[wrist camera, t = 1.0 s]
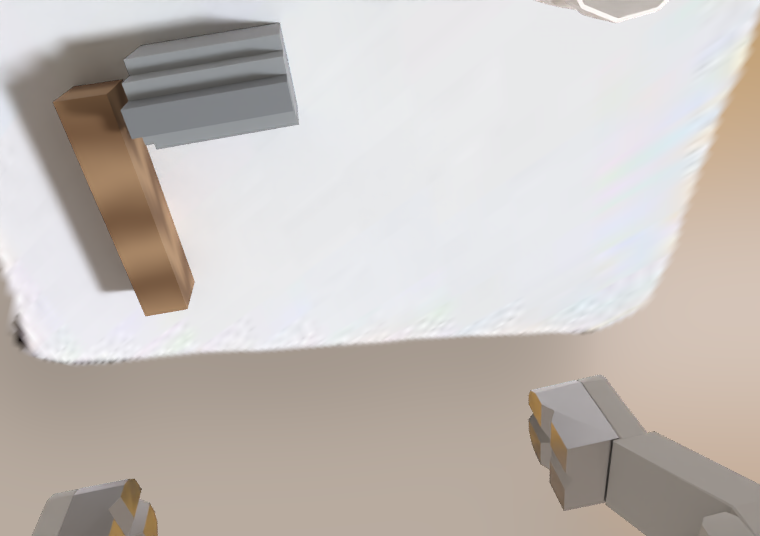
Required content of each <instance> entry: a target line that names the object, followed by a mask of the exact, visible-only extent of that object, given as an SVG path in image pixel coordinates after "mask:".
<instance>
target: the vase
mask: <svg viewBox="0 0 760 536" xmlns="http://www.w3.org/2000/svg"><path fill="white" fill-rule="evenodd" d="M535 1H538V2H541V3H545V4H549V5H553V6H557V7H562V8H567V9H573V10H577V11H578V12H579V13H581V14H582V15H585V16H589V17H592V18H596V19H600V20H605V21H609V22H613V23H619V22H622V21H626V20H629V19H633V18H636V17H640V16H643V15H646V14H650V13H653V12H657V11H659V10H660V9H661V8H662V7H663V6H664V5H665V4H666V3H667V2H668V1H669V0H535Z"/></svg>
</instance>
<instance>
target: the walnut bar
mask: <svg viewBox="0 0 760 536" xmlns="http://www.w3.org/2000/svg"><path fill="white" fill-rule="evenodd" d="M122 83H123V80H116V81H109V82H102V83H95V84H88V85H81V86H74V87H72V88H71V89H70V90H68V91H67V92H66V93H64V94H63V95H62V96H60V97H59V98H58V99H56V100H55V101H54V102H53V104H54V106H55V109H56V111H57V113H58V115H59V118H60V120H61V122H62V125H63V127H64V129H65V132H66V134H67V136H68V139H69V141H70V143H71V145H72V148H73V150H74V152H75V155H76V157H77V159H78V162H79V164H80V166H81V169H82V171H83V173H84V175H85V178H86V180H87V182H88V185H89V187H90V189H91V192H92V194H93V196H94V199H95V201H96V203H97V205H98V208H99V210H100V212H101V215H102V217H103V219H104V222H105V224H106V226H107V229H108V231H109V233H110V235H111V238H112V240H113V242H114V245H115V247H116V249H117V252H118V254H119V256H120V259H121V261H122V263H123V265H124V268H125V270H126V272H127V275H128V277H129V279H130V282H131V284H132V286H133V289H134V291H135V293H136V295H137V298H138V300H139V302H140V305H141V307H142V309H143V312H144V314H145V316H150V315H156V314H162V313H168V312H173V311H179V310H185V309H188V305H189V301H190V297H191V293H192V290H193V286H194V282H195V281H194V279H193V276H192V273H191V270H190V267H189V265H188V262H187V259H186V256H185V253H184V250H183V248H182V245H181V242H180V239H179V236H178V234H177V231H176V228H175V225H174V222H173V220H172V217H171V214H170V211H169V208H168V206H167V203H166V200H165V197H164V194H163V192H162V189H161V186H160V183H159V180H158V178H157V175H156V172H155V169H154V166H153V163H152V161H151V158H150V155H149V152H148V149H147V147H146V145H145V143H144V141H143V138H136V139H132V138H131V136H130V133H129V131H128V128H127V126H126V123H125V121H124V118H123V115H122V113H121V109H122V108H123V107H124V106H125V104H126V103H127V102H128V99H127V96H126V93H125V91H124V88H123V86H122Z"/></svg>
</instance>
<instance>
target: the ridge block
mask: <svg viewBox="0 0 760 536" xmlns="http://www.w3.org/2000/svg"><path fill="white" fill-rule="evenodd" d="M124 63H125V65H126V68H127V71H128V74H129V77H128V78H127V79H126V80H125V81H124V82H123V83H122V86H123V88H124V91H125V93H126V96H127V99H128V102H127V103H126V104H125V106H124V107H123V108H122V109H121V113H122V115H123V118H124V121H125V123H126V126H127V128H128V131H129V133H130V136H131V138H132V139H136V138H143V141H144V143H145V145H150V144H155V147H156V149H162V148H168V147H174V146H179V145H185V144H191V143H196V142H202V141H208V140H213V139H219V138H225V137H230V136H236V135H242V134H248V133H253V132H259V131H265V130H270V129H276V128H282V127H287V126H293V125H299V119H298V107H297V101H296V97H295V92H294V87H293V82H292V78H291V73H290V68H289V64H288V59H287V54H286V49H285V45H284V40H283V35H282V31H281V26H280V23H275V24H269V25H263V26H257V27H251V28H245V29H239V30H232V31H226V32H220V33H214V34H208V35H202V36H196V37H190V38H184V39H178V40H172V41H166V42H159V43H153V44H147V45H141V46H140V47H138V48H137V49H136V50H135V51H134V52H132V53H131V54H130V55H129V56H127V57H126V58H125V59H124Z"/></svg>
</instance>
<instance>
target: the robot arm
mask: <svg viewBox="0 0 760 536" xmlns="http://www.w3.org/2000/svg"><path fill="white" fill-rule="evenodd" d="M529 406H530V408H531V410H532V412H533V414H532V416H531V417H530V418H529V433H530V438H531V442H532V445H533V448H534V451H535V454H536V456H537V458H538V460H539V462H540V464H541V465H543V466H544V467H546V468H548V469H549V470H550V484H551V486H552V488H553V490H554V492H555V494H556V496H557V498H558V500H559V502H560V504H561V506H562V508H563V510H564V511H566V510H571V509H575V508H581V507H585V506H590V505H595V504H600V503H605V502H606V505H607V506H608V507H609V508H611V509H612V510H613V511H615V512H616V513H617V514H618V515H620V516H621V517H623V518H624V519H625V520H626V521H628V522H629V523H630V524H632V525H633V526H634V527H636V528H637V529H638V530H639V531H641V532H642V533H643V534H645V535H646V536H760V484H758V483H756V482H754V481H752V480H750V479H748V478H746V477H744V476H742V475H740V474H738V473H736V472H734V471H732V470H730V469H728V468H726V467H724V466H722V465H720V464H718V463H716V462H714V461H712V460H710V459H708V458H706V457H704V456H702V455H700V454H698V453H696V452H694V451H692V450H690V449H689V448H687V447H684V446H683V445H681V444H678V443H676V442H675V441H673V440H670V439H669V438H667V437H664V436H663V435H661V434H659V433H657V432H655V431H653V432H648V433H647V432H646V430H645V429H644V428H643V427H642V425H641V424H640V423H639V421H638V420H637V419H636V418H635V416H634V415H633V413H632V412H631V411H630V409H629V408H628V407H627V406H626V404H625V403H624V402H623V400H622V399H621V398H620V396H619V395H618V394H617V392H616V391H615V390H614V388H613V387H612V386H611V384H610V383H609V382H608V381H607V379H606V378H605V377H604V376H602V375H597V376H592V377H588V378H583V379H579V380H576V381H575V380H573V381H569V382H565V383H560V384H556V385H552V386H547V387H543V388H539V389H535V390H531V391H530V393H529ZM141 490H142V489H141V487H140V486H139V484H138V483H137V481H136V480H135V479H126V480H121V481H116V482H110V483H105V484H100V485H96V486H90V487H85V488H80V489H76V490H71V491H66V492H61V493H56V494H53V495H52V496H51V498H49V499H48V500H47V502H46V504H45V507H44V509H43V511H42V513H41V516H40V518H39V520H38V523H37V525H36V527H35V529H34V532H33V534H32V536H158V527H157V519H156V515H155V511H154V510H153V508H152V506H151V504H150V503H148V502H146V501H144V500H142V499H140V493H141Z"/></svg>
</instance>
